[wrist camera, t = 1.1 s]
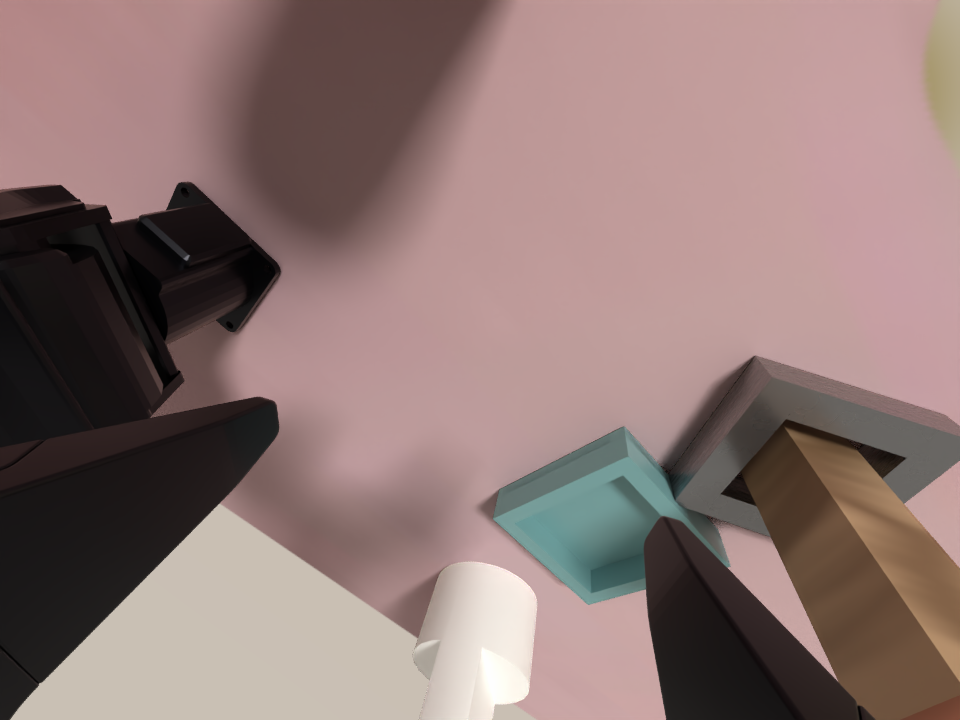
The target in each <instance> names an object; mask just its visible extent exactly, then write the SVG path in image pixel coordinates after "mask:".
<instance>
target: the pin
mask: <svg viewBox="0 0 960 720" xmlns="http://www.w3.org/2000/svg"><path fill="white" fill-rule="evenodd" d="M740 472H741V474H742V476H743V478H744V480H745V482H746V485H747V487H748V489H749V491H750V493H751V495H752V497H753V500H754V502H755V504H756V506H757V508H758V510H759V512H760V515H761V517H762V519H763V521H764V523H765V525H766V527H767V530H768V532H769V534H770V536H771V538H772V540H773V542H774V545H775V547H776V549H777V551H778V553H779V555H780V557H781V560H782V562H783V564H784V566H785V568H786V570H787V572H788V575H789V577H790V579H791V581H792V583H793V585H794V587H795V590H796V592H797V594H798V596H799V598H800V600H801V602H802V604H803V607H804V609H805V611H806V613H807V615H808V617H809V619H810V622H811V624H812V626H813V628H814V630H815V632H816V634H817V637H818V639H819V641H820V643H821V645H822V647H823V649H824V652H825V654H826V656H827V658H828V660H829V662H830V664H831V667H832V669H833V671H834V673H835V675H836V677H837V679H838V682H839V683H840V684H841V685H842V686H843V687H844V688H845V689H846V690H847V691H848V692H849V694H850V695H851V696H852V697H853V698H854V699H855V700H856V701H857V704H858V705H860V706H863V707H864V708H865V709H866V710H867V711H868V712H869V713H870V714H871V715H872V716H873V717H874V718H875V719H876V720H960V568H959V567H958V566H957V565H956V564H955V562H954V561H953V560H952V559H951V558H950V557H949V555H948V554H947V553H946V552H945V551H944V550H943V549H942V547H941V546H940V545H939V544H938V543H937V542H936V540H935V539H934V538H933V537H932V536H931V535H930V534H929V532H928V531H927V530H926V529H925V528H924V527H923V525H922V524H921V523H920V522H919V521H918V520H917V519H916V517H915V516H914V515H913V514H912V513H911V512H910V510H909V509H908V508H907V507H906V506H905V505H904V504H903V502H902V501H901V500H900V499H899V498H898V497H897V496H896V494H895V493H894V492H893V491H892V490H891V489H890V487H889V486H888V485H887V484H886V483H885V482H884V481H883V479H882V478H881V477H880V476H879V475H878V474H877V472H876V471H875V470H874V469H873V468H872V467H871V466H870V464H869V463H868V462H867V461H866V460H865V459H864V457H863V456H862V455H861V454H860V453H859V452H858V451H857V449H856V448H855V447H854V446H853V445H852V444H851V442H850V441H849V440H848V439H847V438H844V437H841V436H838V435H835V434H831V433H828V432H825V431H822V430H819V429H816V428H813V427H810V426H807V425H804V424H800V423H797V422H794V421H791V420H788V419H786V420H785V421H784V422H783V423H782V424H781V425H780V427H779V428H778V429H777V430H776V431H775V432H774V433H773V435H772V436H771V437H770V438H769V439H768V440H767V441H766V443H765V444H764V445H763V446H762V447H761V448H760V449H759V451H758V452H757V453H756V454H755V455H754V456H753V457H752V459H751V460H750V461H749V462H748V463H747V464H746V465H745V467H744V468H743V469H742V470H741V471H740Z"/></svg>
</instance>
